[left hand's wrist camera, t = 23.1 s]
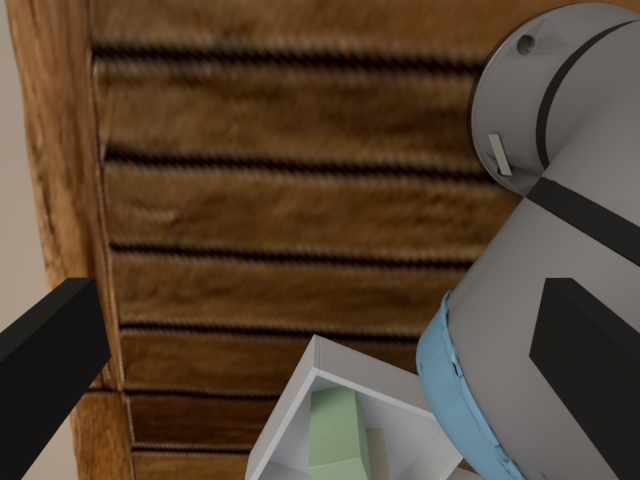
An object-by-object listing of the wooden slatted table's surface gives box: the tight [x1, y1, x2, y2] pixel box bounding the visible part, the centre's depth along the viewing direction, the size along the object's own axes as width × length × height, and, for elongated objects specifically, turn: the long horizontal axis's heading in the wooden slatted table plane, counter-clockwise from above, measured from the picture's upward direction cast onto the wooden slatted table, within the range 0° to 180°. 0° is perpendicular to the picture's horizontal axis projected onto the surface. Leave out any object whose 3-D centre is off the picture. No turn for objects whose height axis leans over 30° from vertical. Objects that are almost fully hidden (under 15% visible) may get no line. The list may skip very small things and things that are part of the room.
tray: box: [245, 334, 485, 480], centre depth 39 cm, size 28×15×6 cm, turn 65°
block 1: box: [308, 386, 372, 480], centre depth 35 cm, size 4×4×8 cm
